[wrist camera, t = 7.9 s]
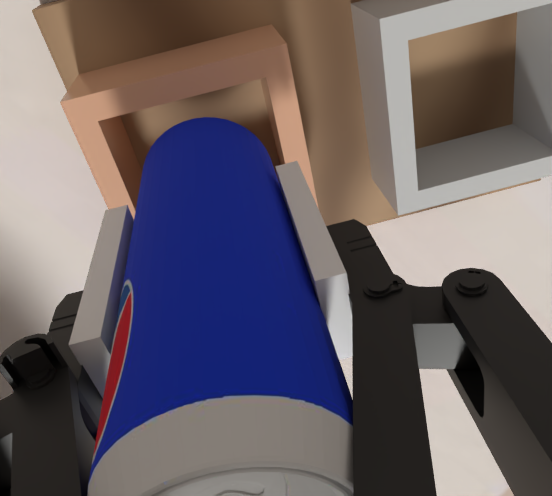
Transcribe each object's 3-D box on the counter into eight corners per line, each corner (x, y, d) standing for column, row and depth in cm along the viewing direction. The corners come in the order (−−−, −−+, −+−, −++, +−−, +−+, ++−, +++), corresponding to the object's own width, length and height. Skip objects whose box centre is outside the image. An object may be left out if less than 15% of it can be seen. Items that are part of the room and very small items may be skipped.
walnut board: (152, 266, 30) (151, 282, 29) (40, 5, 22) (31, 10, 21) (525, 169, 30) (540, 180, 29) (543, -126, 22) (564, -128, 21)
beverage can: (126, 126, 20) (21, 494, 7) (260, 99, 20) (384, 414, 7) (163, 239, 23) (133, 645, 10) (280, 215, 23) (393, 584, 10)
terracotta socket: (147, 237, 27) (141, 282, 24) (78, 74, 22) (59, 102, 19) (306, 195, 27) (323, 235, 24) (271, 24, 22) (286, 43, 19)
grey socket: (372, 178, 27) (398, 215, 24) (350, 3, 22) (379, 19, 19) (530, 137, 27) (578, 168, 24) (541, -47, 22) (604, -40, 19)
